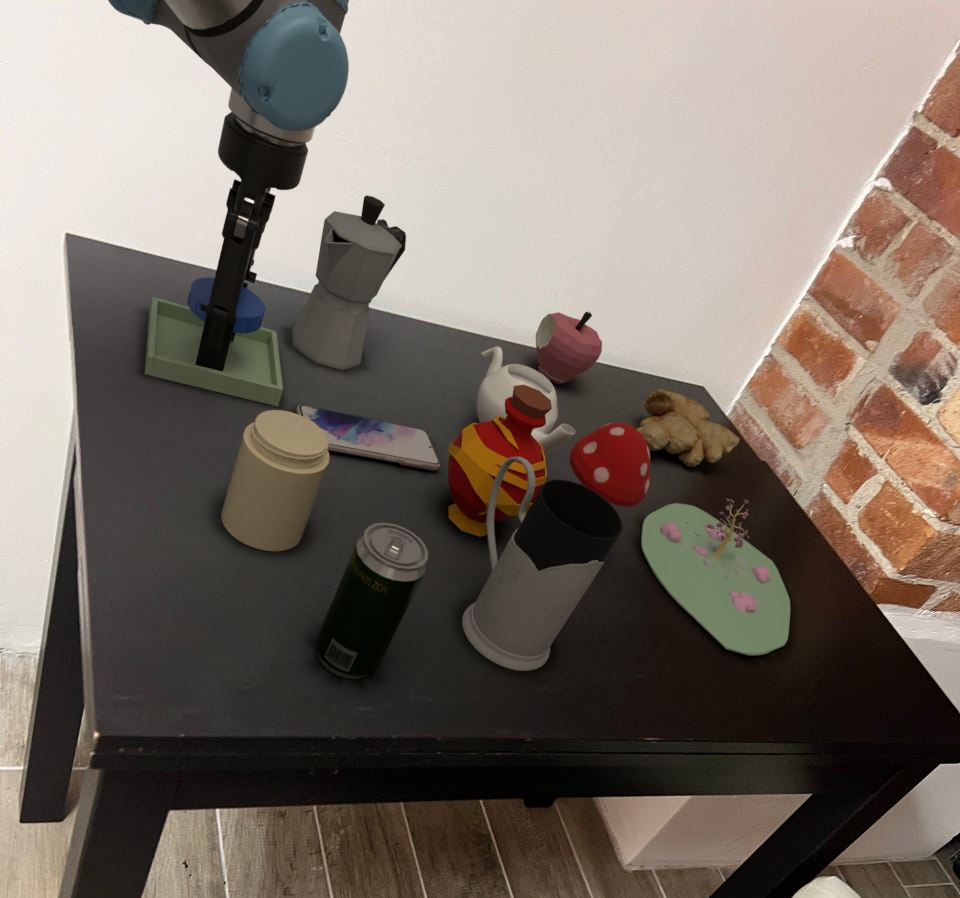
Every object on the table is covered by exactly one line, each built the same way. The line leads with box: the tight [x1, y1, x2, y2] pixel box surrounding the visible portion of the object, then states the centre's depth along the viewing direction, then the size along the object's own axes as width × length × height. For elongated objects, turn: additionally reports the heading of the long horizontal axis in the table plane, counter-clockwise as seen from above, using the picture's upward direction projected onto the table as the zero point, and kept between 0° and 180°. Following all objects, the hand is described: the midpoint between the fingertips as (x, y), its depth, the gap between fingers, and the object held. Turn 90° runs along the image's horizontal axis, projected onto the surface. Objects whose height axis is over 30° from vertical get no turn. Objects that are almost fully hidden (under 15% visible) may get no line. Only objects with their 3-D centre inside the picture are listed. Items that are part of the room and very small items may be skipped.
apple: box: [535, 311, 603, 385], centre depth 125 cm, size 10×9×10 cm
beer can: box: [315, 522, 429, 680], centre depth 69 cm, size 5×5×12 cm
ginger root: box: [636, 388, 741, 468], centre depth 126 cm, size 16×16×8 cm
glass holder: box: [461, 457, 623, 672], centre depth 80 cm, size 9×14×15 cm, turn 32°
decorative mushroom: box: [569, 421, 651, 508], centre depth 93 cm, size 10×9×15 cm
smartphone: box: [295, 404, 441, 472], centre depth 96 cm, size 7×1×15 cm
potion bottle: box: [447, 385, 552, 538], centre depth 89 cm, size 10×10×15 cm
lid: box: [186, 277, 266, 333], centre depth 92 cm, size 7×7×2 cm
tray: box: [144, 296, 284, 407], centre depth 95 cm, size 13×12×2 cm
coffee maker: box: [291, 194, 407, 371], centre depth 103 cm, size 15×9×18 cm, turn 147°
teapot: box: [475, 345, 576, 456], centre depth 105 cm, size 10×20×9 cm, turn 26°
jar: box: [220, 409, 331, 552], centre depth 77 cm, size 7×7×10 cm
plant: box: [640, 498, 791, 656], centre depth 103 cm, size 25×21×9 cm
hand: (215, 352), depth 95 cm, fingers closed on lid, 7 cm apart
